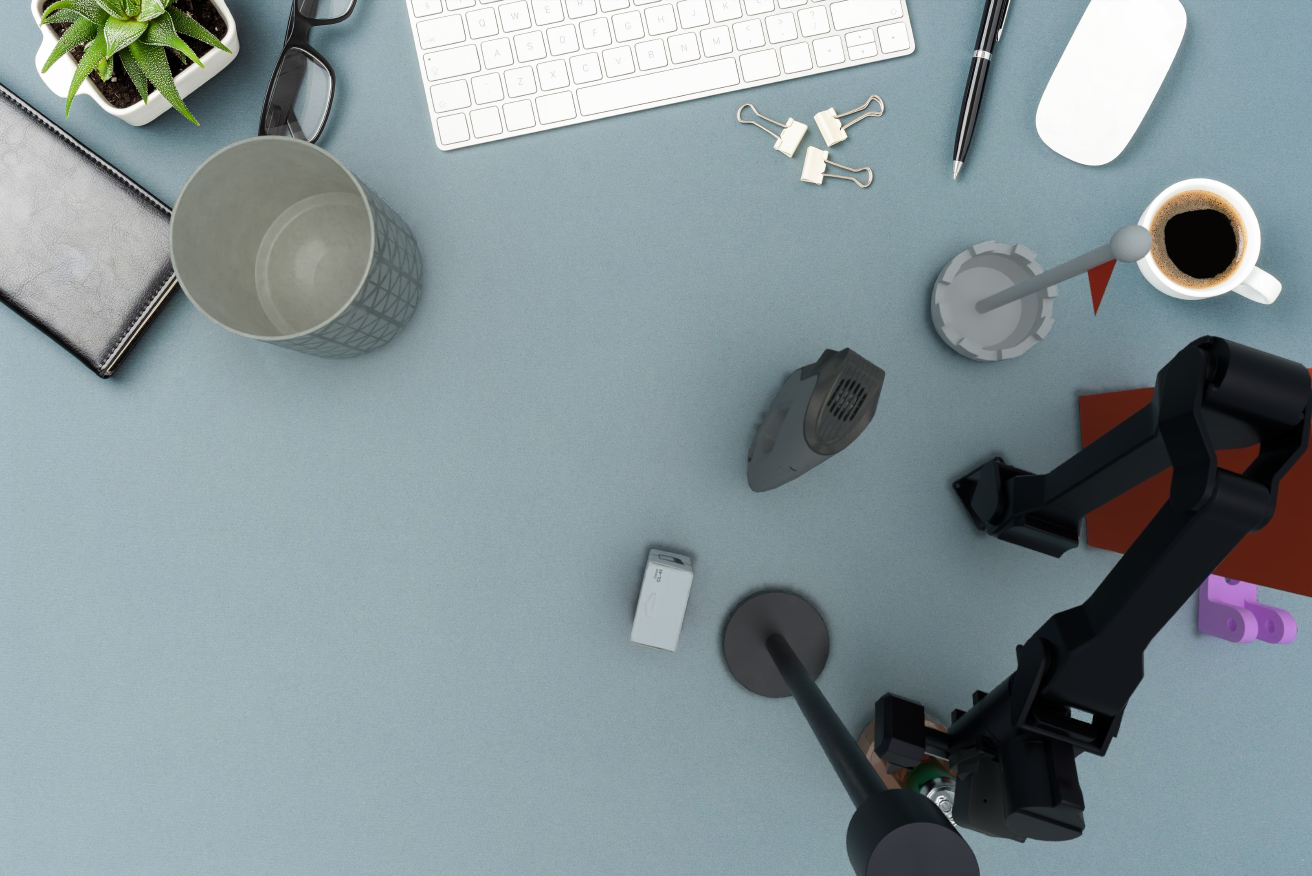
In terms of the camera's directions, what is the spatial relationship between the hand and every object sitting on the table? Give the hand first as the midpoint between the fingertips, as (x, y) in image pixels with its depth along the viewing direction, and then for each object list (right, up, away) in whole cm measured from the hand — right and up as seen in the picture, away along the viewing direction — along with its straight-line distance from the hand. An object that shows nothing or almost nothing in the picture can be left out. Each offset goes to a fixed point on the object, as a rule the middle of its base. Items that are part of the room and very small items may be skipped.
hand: (929, 783), depth 81 cm
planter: (-64, +54, +8) cm, 85 cm away
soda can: (0, 0, +7) cm, 7 cm away
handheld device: (-13, +37, +8) cm, 40 cm away
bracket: (+37, +20, +8) cm, 43 cm away
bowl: (0, -1, +8) cm, 8 cm away
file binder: (+24, +33, +8) cm, 42 cm away
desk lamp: (-15, +13, +8) cm, 21 cm away
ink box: (-28, +19, +8) cm, 35 cm away
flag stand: (+9, +51, +9) cm, 53 cm away
